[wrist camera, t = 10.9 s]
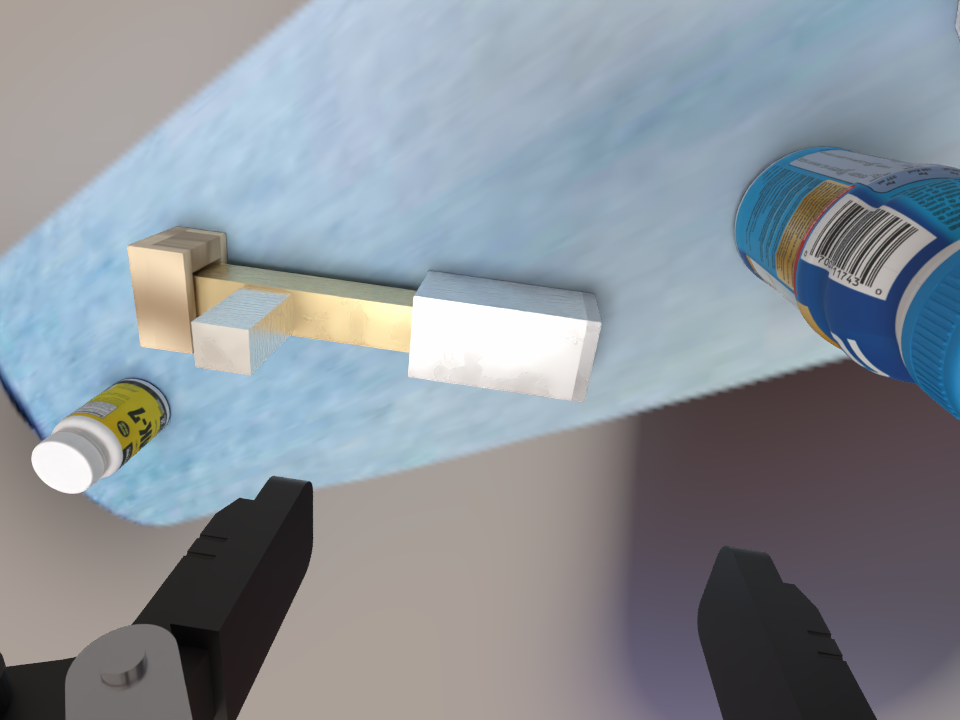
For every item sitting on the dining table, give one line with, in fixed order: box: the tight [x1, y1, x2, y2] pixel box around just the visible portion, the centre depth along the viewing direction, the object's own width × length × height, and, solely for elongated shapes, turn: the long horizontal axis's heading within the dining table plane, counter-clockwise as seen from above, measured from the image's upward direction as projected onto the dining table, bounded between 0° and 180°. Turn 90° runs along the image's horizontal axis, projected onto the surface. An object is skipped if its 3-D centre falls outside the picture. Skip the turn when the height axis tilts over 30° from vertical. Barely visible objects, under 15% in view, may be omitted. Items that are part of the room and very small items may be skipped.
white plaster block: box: [408, 271, 602, 402], centre depth 37 cm, size 5×11×5 cm, turn 83°
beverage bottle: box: [735, 147, 960, 421], centre depth 26 cm, size 8×8×20 cm
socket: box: [127, 226, 228, 354], centre depth 38 cm, size 6×3×5 cm, turn 173°
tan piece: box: [191, 262, 417, 375], centre depth 35 cm, size 3×18×9 cm, turn 83°
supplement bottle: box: [31, 379, 169, 494], centre depth 41 cm, size 5×5×8 cm
